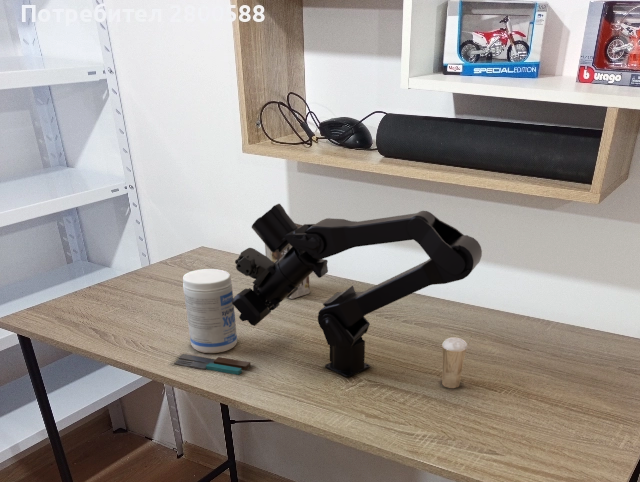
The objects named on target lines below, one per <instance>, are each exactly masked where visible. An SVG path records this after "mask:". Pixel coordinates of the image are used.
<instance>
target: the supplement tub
mask: <svg viewBox="0 0 640 482" xmlns="http://www.w3.org/2000/svg"><path fill="white" fill-rule="evenodd" d="M182 282H183V283H182V287H183V288H182V289H183V296H184V304H185V309H186V319H187V325H188V333H189V339H190V345H191V347H192V348H193V349H194V350H196V351H198V352H200V353H205V354H218V353H223V352H227V351H229V350H231V349H233V348H234V347H235V346H236V345H237V343H238V334H237V324H236V314H235V313H236V312H235V306H234V305H233V304H232V301H231V300H232V299H233V298H234V290H233V284H232V283H233V282H232V278H231V274H230V272H228V271H227V270H222V269H217V268H201V269H195V270H191V271H188V272H186V273H185V274H184V275H183V276H182Z"/></svg>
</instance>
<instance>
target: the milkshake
mask: <svg viewBox="0 0 640 482" xmlns="http://www.w3.org/2000/svg"><path fill="white" fill-rule="evenodd" d="M471 341H472V339H470V340H469V342H468V343H467V342H466V341H465V340H464V339H463V338H461V337H455V336H454V337H453V336H452V337H447V338H446V339H445V340H444V341H443V342H442V344H441V347H442V349H441V351H442V352H441V353H442V366H441V367H442V368H441V369H442V372H441V376H442V379H441V384H442V386H443V387H445V388H447V389H456V388H459V386H460V384H461V378H462V374H463V367H464V363H465V358H466V355H467V351H468V346H469V345H470V343H471Z"/></svg>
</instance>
